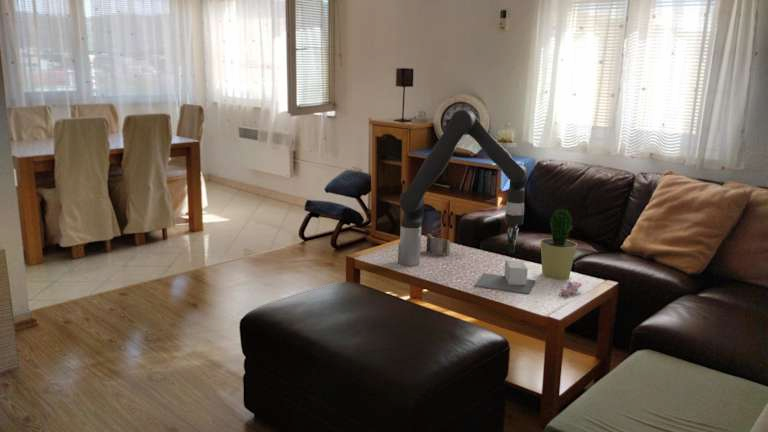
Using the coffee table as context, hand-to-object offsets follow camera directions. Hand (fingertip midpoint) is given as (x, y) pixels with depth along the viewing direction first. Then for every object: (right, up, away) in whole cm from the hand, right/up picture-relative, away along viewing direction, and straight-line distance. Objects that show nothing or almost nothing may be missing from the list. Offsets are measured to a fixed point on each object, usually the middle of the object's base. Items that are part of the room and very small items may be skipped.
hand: (511, 252), depth 267 cm
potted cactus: (+21, -11, +7) cm, 24 cm away
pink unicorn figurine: (+20, -16, -15) cm, 30 cm away
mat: (-4, -13, -7) cm, 15 cm away
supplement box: (+1, -6, +2) cm, 7 cm away
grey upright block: (-28, -3, +36) cm, 46 cm away
